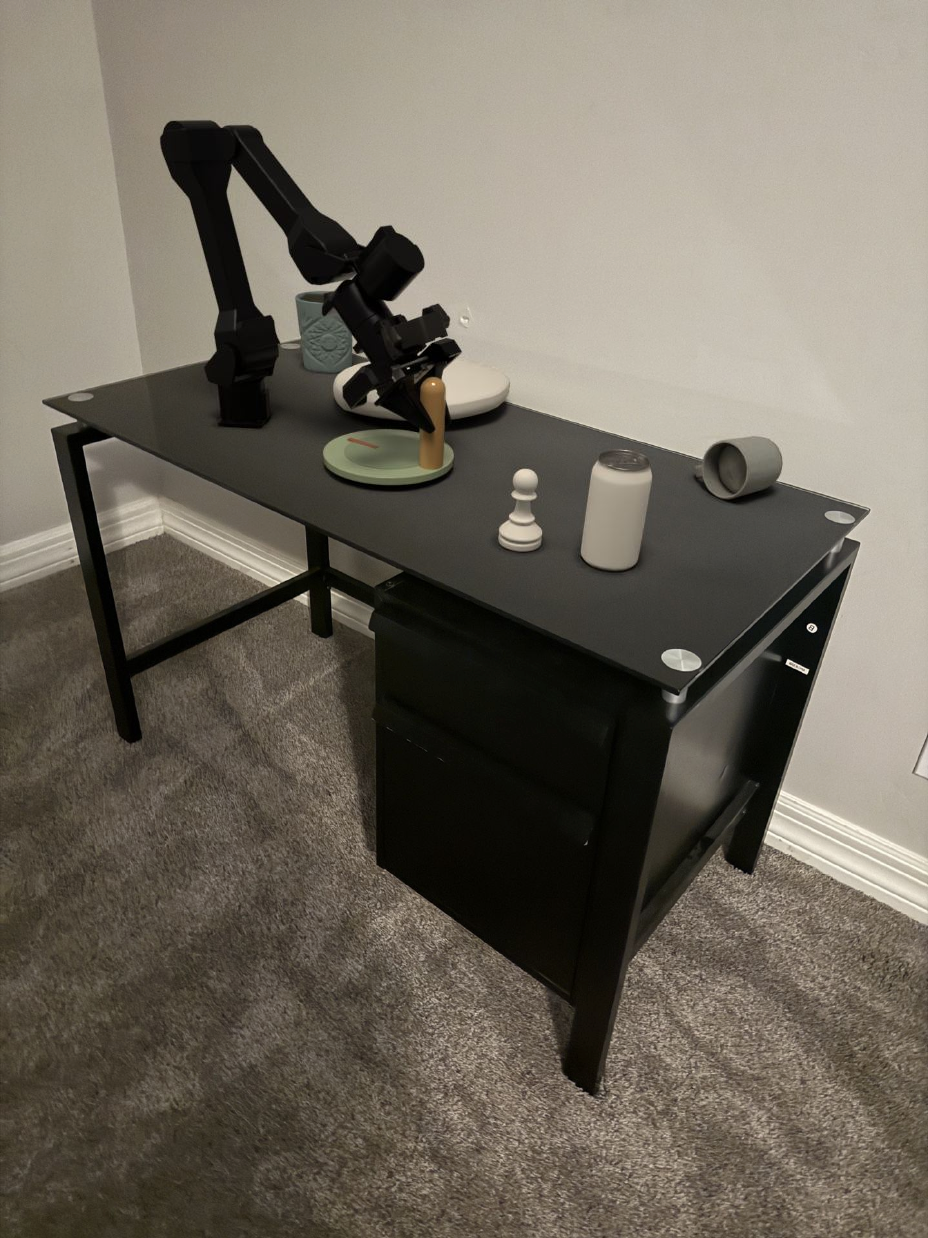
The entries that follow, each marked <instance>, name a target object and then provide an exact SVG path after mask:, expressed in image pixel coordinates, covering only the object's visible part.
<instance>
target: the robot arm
mask: <svg viewBox="0 0 928 1238" xmlns="http://www.w3.org/2000/svg"><path fill="white" fill-rule="evenodd" d="M159 145H160V151H161V153H162V156H163V159H164V162H165V164H166V167H167V169H168V173H169V176H170V177H171V179H172V180H173V182H175V184H176V185H177V187H179V189H180V190H181V191H182V192H183V193H184V194H185V196H186V197H187V198H188V200H189V204H190V207H191V210H192V214H193V219H194V222H195V226H196V229H197V233H198V237H199V240H200V245H201V249H202V252H203V255H204V260H205V264H206V268H207V271H208V274H209V279H210V282H211V286H212V289H213V293H214V297H215V301H216V305H217V308H218V314H217V317H216V322H215V327H214V331H213V337H214V338H213V339H214V343H215V350H216V351H215V352H214V353H213V354H212V356H211V357H210V359H209V360H208V361H207V363H206V364H204V367H203V370H204V373H205V376H206V379H207V382H208V383H210V384H214V385H216V386H217V392H218V394H217V395H218V403H219V413H220V418H219V419H218V420H217V425H218V426H230V427H245V428H246V427H248V428H261V427H263V426H264V424H265V423H266V421H267V420H268V419H269V417H270V415H271V414H272V413H271V401H270V388H269V387H266V382H265V378H267V377H272V376H273V375H274V371H275V366H276V362H277V360H278V358H279V356H280V349H279V345H281V341H280V339H279V337H278V334H277V330H276V325H275V324H276V322H275V319H274V317H273V316H272V314H267V315H264V313H262V312H261V310H260V309H259V308H258V307H257V305H256V304H255V301H254V298H253V293H252V289H251V285H250V280H249V277H248V273H247V269H246V265H245V262H244V257H243V253H242V249H241V245H240V240H239V237H238V232H237V230H236V225H235V221H234V217H233V212H232V210H231V206H230V200H229V198H228V197H229V196H228V188H229V183H230V181H231V175H232V171H233V169H235V171H236V172H237V174H239V176H240V177H241V178H242V180H243V181H244V183H245V184H246V185H247V186H248V187H249V189H250V190H251V191H252V193H253V194H254V195H255V197H256V198H257V199H258V200H259V202H260V203H261V204H262V206H263V207H264V208H265V210H266V211H267V212H268V214H269V215H270V216H271V217H272V219H273V221H275V222H276V224H277V225H278V226H279V228H280V229H281V230H282V232H283V234H284V235H285V237H286V242H287V248H288V249H287V250H288V254H289V256H290V258H291V259H292V261H293V264H294V265H295V266H296V268H297V269H298V271H299V273H300V275H301V276H302V278H303V279H304V280H305V282H307V283H308V284H310V285H312V286H325V285H329V284H334V283H339V282H340V284H339V285H337V287H336V288H335V290H331V291H332V292H328V293H324V294H323V297H324V302H323V305H322V315H323V316H328V315H332V314H336V313H338V314H339V316H340V317H341V319H342V320H343V322H344V323H345V325H346V326H347V328H348V329H349V331H350V332H351V334H352V338H353V339H354V341H356V343H355V344H354V345H352V351H353V352H355V354H356V355H360V354H362V353H363V354H364V355H365V357H366V358H367V360H368V362H369V361H370V364H367V365H365V366H362V367H361V368H360V369H359V370H358V371H357V372H356V373H355V374H354V375H353V376H352V377H351V378H350V379H349V380H348V381H347V382H346V383H345V384H344V386H343V387H342V392H343V398H344V400H345V401H346V403H347V404H348V406H349V407H350V409H351V410H352V409H354V408H357V407H359V406H362V405H364V404H365V403H366V402H367V394H368V393H369V392H370V391H372V390H375V389H376V390H377V394H378V396H379V398H378V399H377V400H376V401H375V402H374V405H375V406H376V407H377V406H381V407H383V408H385V409H387V410H389V411H391V412H393V413H395V414H397V415H399V416H400V417H402V418H404V419H406V420H407V421H406V422H409V423H410V424H412V425H414V426H415V427H417V428H419V430H420V429H422V430H424V431H425V432H427V433H428V434H431V433H433V432H434V431H435V430H436V428H435V426H434V424H433V422H432V420H431V418H430V416H429V414H428V413H427V411H426V409H425V407H424V406H423V404H422V402H421V401H420V391H421V385H422V383H423V381H424V380H426V379H427V378H429V377H437V378H439V379H441V380H442V375H443V370H444V369H445V368H446V367H447V366H448V365H449V364H450V363H451V362H453V361H454V360H455V359H458V357H459V356H460V355H461V354H463V351H462V349H461V348H460V346H459V344H458V343H457V341H456V340H455V339H453V338H450V337H448V336H449V333H448V330H447V329H448V328H449V327H450V325H451V317H450V316H449V315H448V313H447V312H446V310H445V309H444V308H443V307H442V306H441V304H440V303H435V304H432V305H429V306H427V307H423V308H422V310H421V316H417V317H415V318H412V319H409V320H408V318H407V317H406V316H405V315H404V314H401V313H398V314H396V315H394V314H393V312H392V311H391V309H390V308H389V306H388V305H387V303H386V302H393V301H396V300H397V299H398V298H399V297H400V296H401V294H402V293H403V292H405V290H407V288H408V287H409V286H410V285H411V284H412V283H413V281H414V280H416V278H417V277H418V276H419V275H420V274H421V273H422V271H424V269H425V265H426V262H425V257H424V255H423V252H422V251H421V249H420V247H419V246H418V244H415V243H414V242H413V241H412V240H410V239H409V238H408V237H407V236H405V235H403V234H401V233H399V232H397V231H396V229H395V228H394V226H393V225H392V224H387V225H381V226H379V227H378V228H377V230H376V231H375V232H374V234H373V236H372V238H371V239H370V241H369V242H368V243H367V245H363V244H360V243H358V242H357V240H356V239H355V238H354V237H353V235H352V234H351V233H350V232H349V231H347V230H346V229H345V228H344V226H343V225H341V224H340V223H339V222H338V221H337V220H334V219H333V218H331V217H329V216H328V215H326V214H324V213H322V212H320V211H319V210H318V209H317V208H316V207H315V206H314V205H313V204H312V202H311V201H310V200H309V198H308V197H307V196H306V194H305V192H303V190H302V189H301V188H300V187H299V185H298V184H297V183H296V181H295V180H294V178H293V177H292V176H291V175H290V174H289V172H288V171H287V170H286V169H285V167H284V166H283V165H282V163H281V162H280V161H279V160H278V158H277V157H276V155H275V154H274V153H273V152H272V151H271V149H270V148H269V147H268V146H267V144H266V143H265V141H264V137H263V135H262V133H261V131H260V130H259V129H258V128H257V127H255V126H253V125H251V124H230V125H229V124H227V125H223V127H221V126H220V124H218V123H217V122H216V121H213V120H211V119H200V120H199V119H196V120H195V119H194V120H193V119H189V120H187V119H185V120H184V119H183V120H169V121H168V122H167V123H166V124H165V125H164V127H163V130H162V134H161V135H160V137H159ZM438 338H440V339H438ZM436 339H438V340H436ZM428 343H430V344H429V345H427V344H428ZM420 352H421V353H420ZM407 368H410V369H407ZM450 424H452V419H451V417H450V413H449V409H448V406H447V402H446V405H445V427H449V426H450Z"/></svg>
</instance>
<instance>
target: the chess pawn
mask: <svg viewBox="0 0 928 1238" xmlns="http://www.w3.org/2000/svg"><path fill="white" fill-rule="evenodd" d="M538 484H539V477H538V475H537V473H536V472H535V471H533V469H531V468H522V469H519V470H518V471H516V472H515V473H514V475H513V477H512V485H513V488H514V489H513V491H511V495H510V496H511V497H512V498H513V499H516V502H515V506H514V510H513V511H512V512H511V513H510V514H509V515H508V519H507V520H506V521H505V522H504V523H502V524H501V525H500V526H499V527H498V532H499V533H498V539H497V540H498V544H500V546H501V547H503V548H504V549H507V550H509V551H512V552H519V553H528V552H532V551H536V550H537V549H539V548H540V546H541V545H542V539H543V538H542V537H543V530H542V528H541V527H540V526H539V525H538V524H537V523H536V522H535V520H536V517H535V515H534V514H533V513H532V510H531V501H533V500H536V498H537V497H538V494H537V493H536V492H535V490H536V489H537V488H538Z"/></svg>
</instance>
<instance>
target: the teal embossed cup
mask: <svg viewBox="0 0 928 1238" xmlns="http://www.w3.org/2000/svg"><path fill="white" fill-rule="evenodd" d="M332 291H333V290H313V291H311V290H310V291H305V292H300V293H298V294H296V295H295V297H294V300H295V309H296V316H297V323H298V331H299V336H300V345H301V346H300V347H301V351H302V353H301V354H302V359H303V366H304V368H305V370H308V371H310V372H314V373H322V374H335V373H341V372H342V371H344V370H345V369H347V368H349V367H352V366H353V348H352V347H353V339H354V338H353V335H352V334H351V332H350V331H349V329H348V328H347V326H346V325H345V323H344V322H343V320H342V319H341V317H340V316H339V314H338V313H336V314H332V315H328V316H323V315H322V305H323V302H324V297H323V294H324V293H328V292H332Z"/></svg>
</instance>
